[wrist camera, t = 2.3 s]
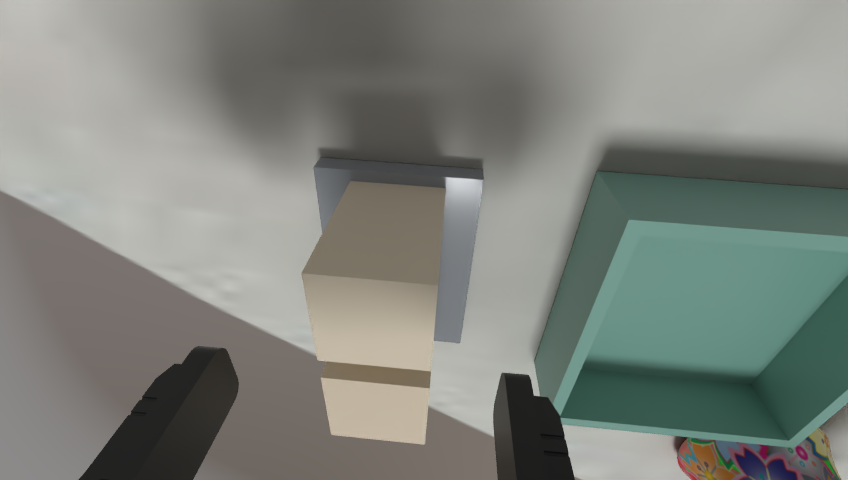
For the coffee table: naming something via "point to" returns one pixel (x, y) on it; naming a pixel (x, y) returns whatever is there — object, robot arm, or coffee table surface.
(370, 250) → the block
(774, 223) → the green bin
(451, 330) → the slate board
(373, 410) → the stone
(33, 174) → the coffee table surface
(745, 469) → the floral patterned vase
